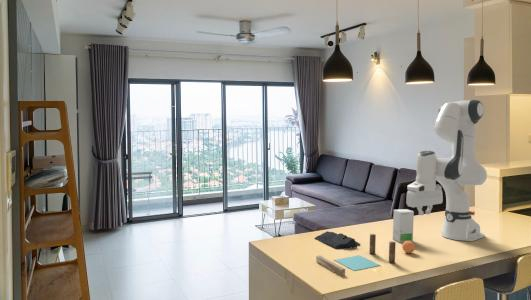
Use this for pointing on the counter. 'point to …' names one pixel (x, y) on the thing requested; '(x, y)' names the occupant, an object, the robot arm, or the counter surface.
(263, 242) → the counter surface
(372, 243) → the post
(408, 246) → the ball
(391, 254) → the post
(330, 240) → the dark slate chunk
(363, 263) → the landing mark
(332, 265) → the rail
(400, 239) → the skincare box
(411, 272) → the counter surface
